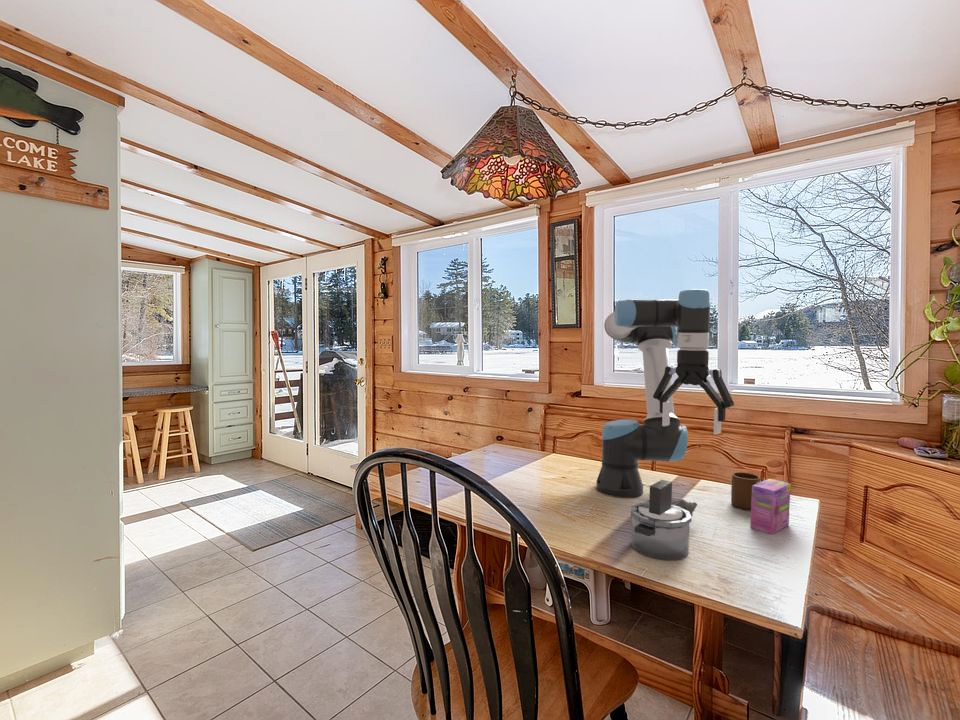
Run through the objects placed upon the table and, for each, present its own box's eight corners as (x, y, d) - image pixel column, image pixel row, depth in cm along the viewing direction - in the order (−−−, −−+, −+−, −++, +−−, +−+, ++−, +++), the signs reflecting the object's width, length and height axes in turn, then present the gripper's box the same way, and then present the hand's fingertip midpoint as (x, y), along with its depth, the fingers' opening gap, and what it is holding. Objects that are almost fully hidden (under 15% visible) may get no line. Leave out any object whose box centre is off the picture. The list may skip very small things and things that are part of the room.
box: (772, 535, 123) (774, 490, 123) (749, 528, 128) (751, 484, 127) (789, 525, 129) (791, 483, 129) (767, 519, 134) (768, 478, 133)
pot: (614, 550, 114) (615, 514, 114) (650, 529, 127) (651, 496, 126) (670, 570, 104) (671, 530, 104) (702, 545, 117) (703, 509, 117)
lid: (631, 515, 115) (632, 483, 115) (648, 504, 122) (649, 475, 122) (672, 527, 108) (673, 494, 108) (688, 515, 116) (689, 484, 115)
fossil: (678, 516, 136) (679, 488, 136) (705, 527, 128) (706, 498, 128) (649, 522, 131) (650, 494, 131) (675, 535, 123) (676, 504, 123)
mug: (777, 515, 137) (778, 483, 136) (754, 517, 135) (755, 484, 135) (746, 501, 148) (747, 471, 148) (725, 502, 147) (726, 472, 147)
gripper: (641, 348, 130) (639, 424, 132) (738, 351, 112) (735, 440, 113) (655, 347, 135) (653, 420, 137) (750, 350, 117) (746, 435, 118)
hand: (690, 429), depth 125 cm, fingers open, 13 cm apart
